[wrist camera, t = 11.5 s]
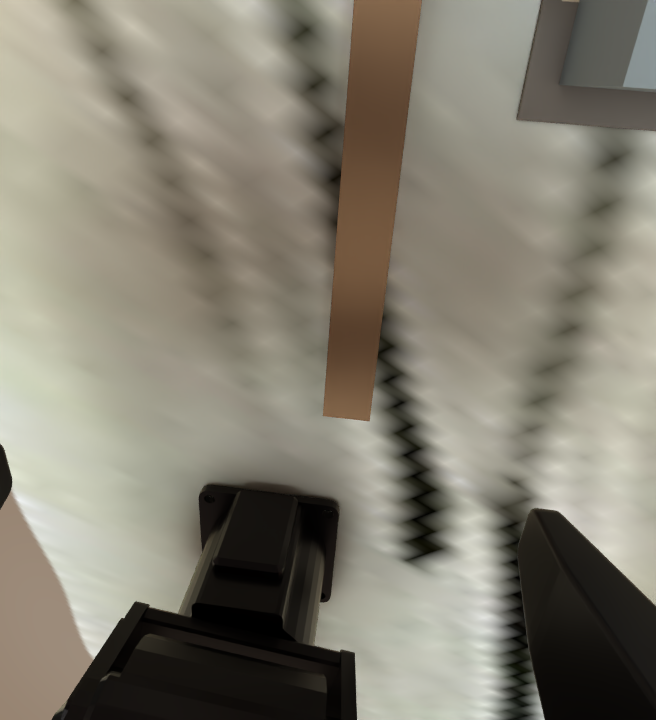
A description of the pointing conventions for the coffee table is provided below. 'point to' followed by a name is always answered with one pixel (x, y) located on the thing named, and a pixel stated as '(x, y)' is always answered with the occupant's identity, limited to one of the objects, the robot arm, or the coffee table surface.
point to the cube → (612, 46)
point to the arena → (384, 158)
